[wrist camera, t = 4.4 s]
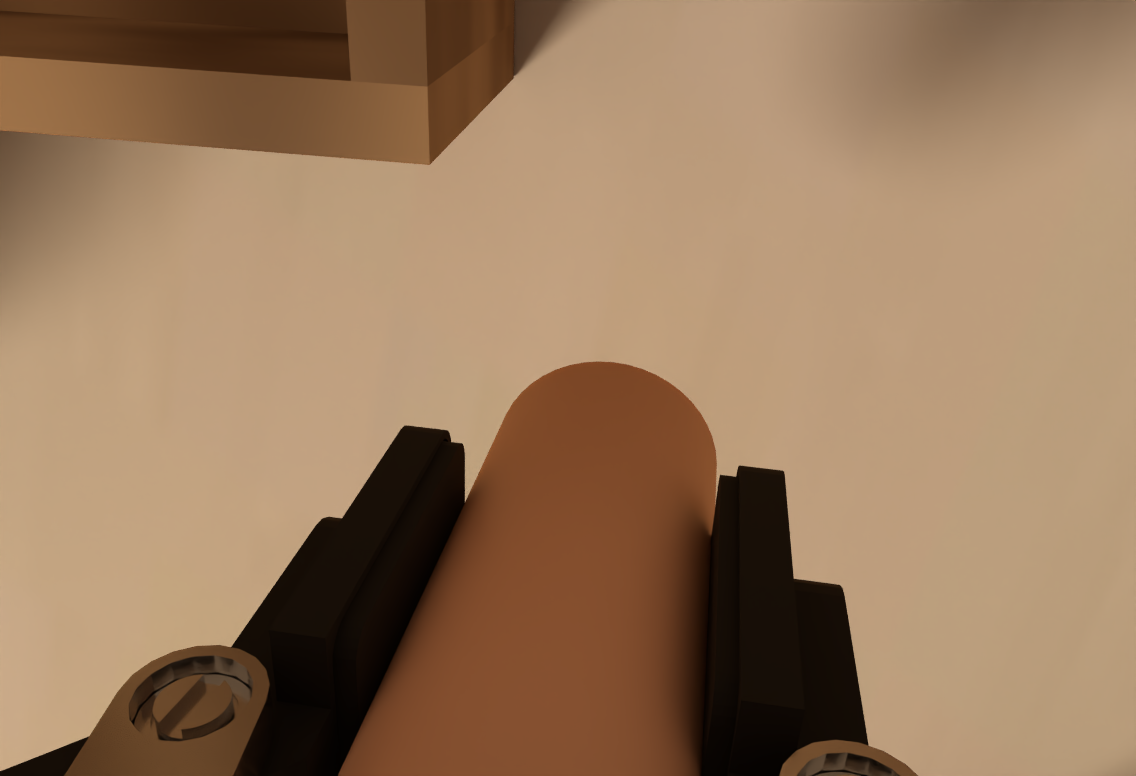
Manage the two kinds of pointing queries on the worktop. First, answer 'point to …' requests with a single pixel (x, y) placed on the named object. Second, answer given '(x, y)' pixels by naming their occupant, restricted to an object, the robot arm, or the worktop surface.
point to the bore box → (257, 72)
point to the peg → (563, 597)
